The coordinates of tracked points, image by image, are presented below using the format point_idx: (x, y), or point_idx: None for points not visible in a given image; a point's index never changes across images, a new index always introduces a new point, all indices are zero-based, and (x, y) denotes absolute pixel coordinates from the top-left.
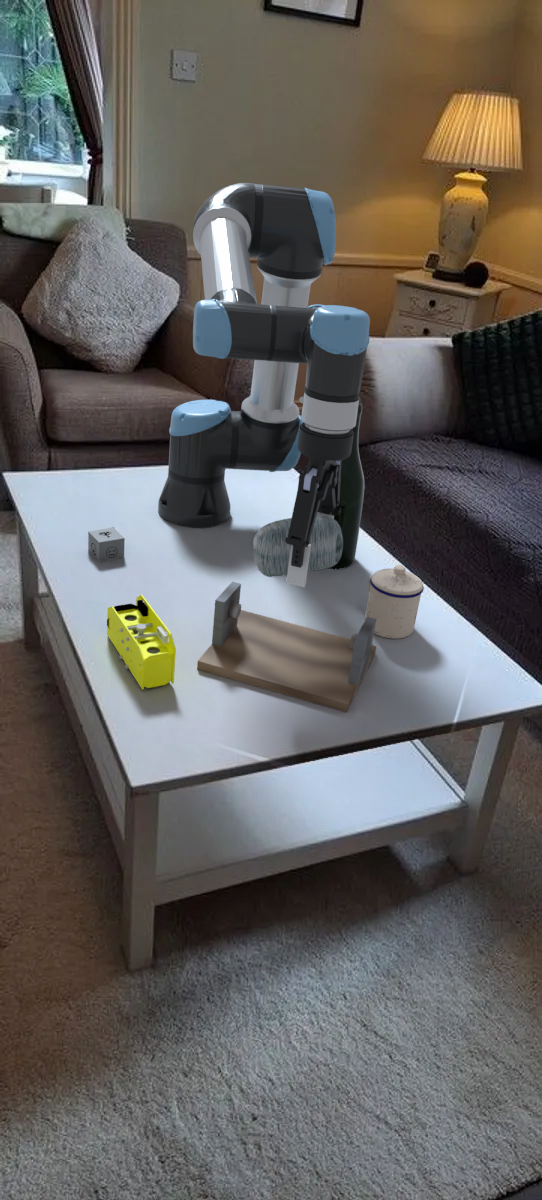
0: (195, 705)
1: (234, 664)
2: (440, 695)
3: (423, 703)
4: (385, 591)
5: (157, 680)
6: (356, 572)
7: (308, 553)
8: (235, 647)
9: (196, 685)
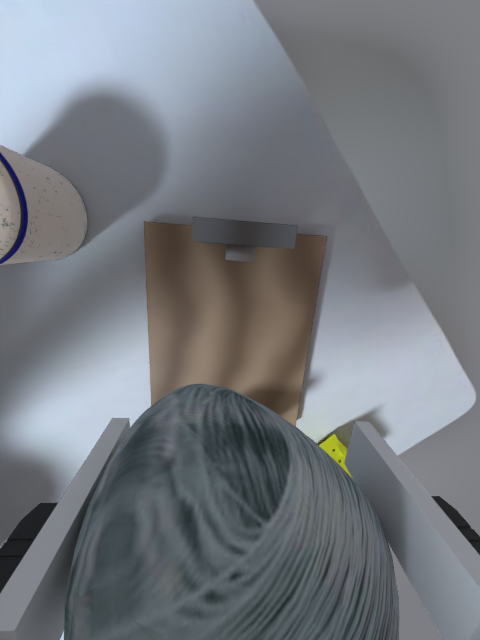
0: (357, 401)
1: (286, 395)
2: (221, 83)
3: (257, 115)
4: (20, 221)
5: (344, 449)
6: None
7: (472, 547)
8: None
9: (322, 412)
